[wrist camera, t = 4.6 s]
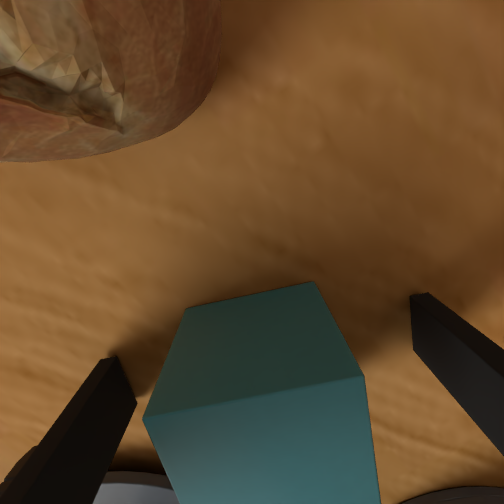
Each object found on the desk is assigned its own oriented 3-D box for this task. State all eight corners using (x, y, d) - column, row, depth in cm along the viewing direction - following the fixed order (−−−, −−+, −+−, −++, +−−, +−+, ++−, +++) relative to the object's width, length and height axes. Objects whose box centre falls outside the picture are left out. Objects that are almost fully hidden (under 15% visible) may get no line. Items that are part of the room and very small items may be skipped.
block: (219, 407, 14) (202, 556, 9) (185, 308, 12) (140, 419, 7) (332, 385, 14) (384, 525, 9) (314, 280, 12) (365, 375, 7)
